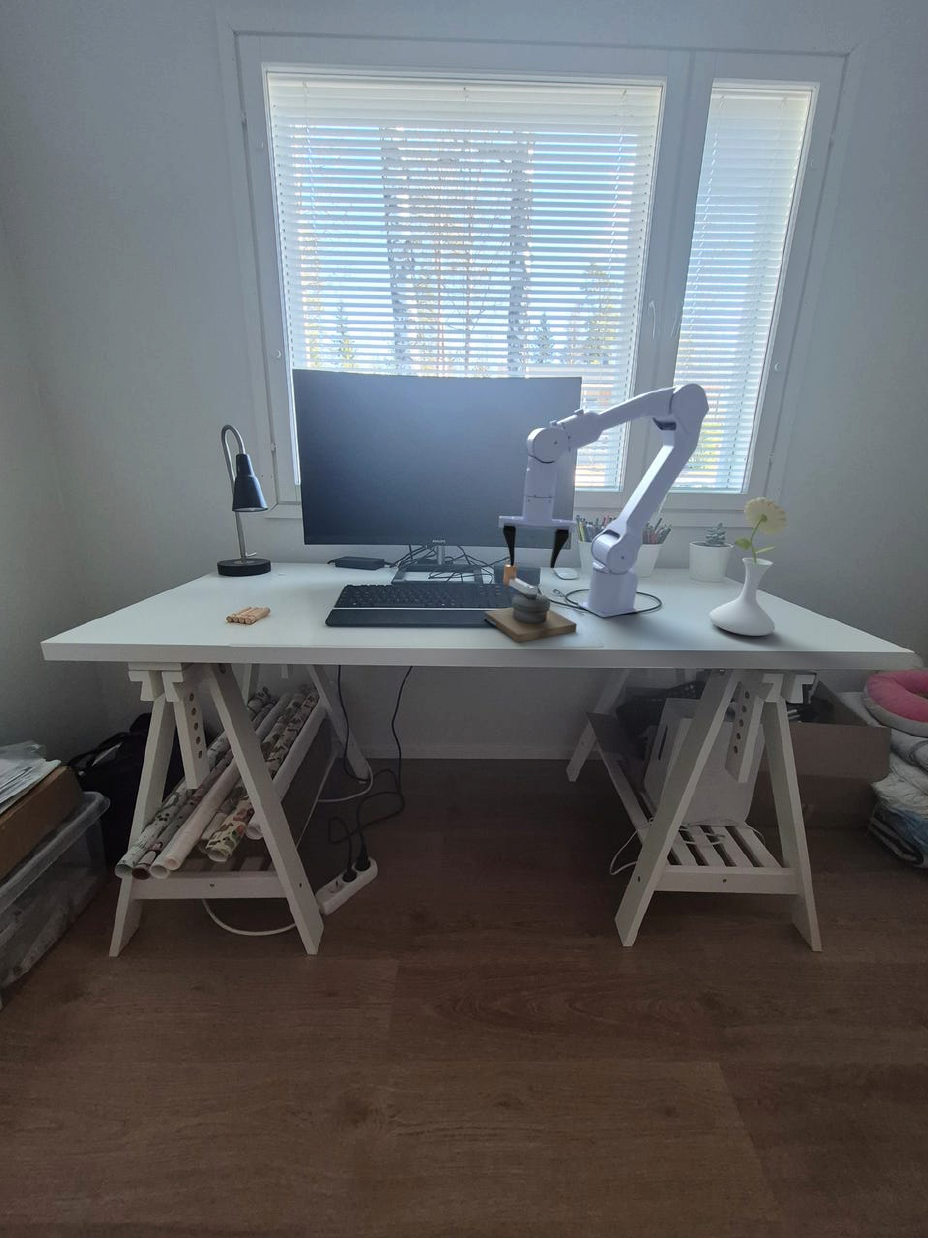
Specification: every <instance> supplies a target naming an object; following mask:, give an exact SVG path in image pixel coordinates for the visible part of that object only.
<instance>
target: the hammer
mask: <svg viewBox="0 0 928 1238" xmlns="http://www.w3.org/2000/svg"><path fill="white" fill-rule="evenodd" d="M503 567H504V569H503V581H502V582H503V584H504V585H508V586H510V587H512V588H514V589H516V590H517V591H519V592H520V593H524V594H526V598H528V599H536V598H537V593H538V589H539V587H538V586H537V585H531V584H530V583H527V582H525V581H523V580H521V579H519V578H517V577H516V576H517V568H518V566H517V565H516V564H514V565H510V563H508V564H507V563H505V564H504V566H503Z"/></svg>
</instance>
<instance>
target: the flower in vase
mask: <svg viewBox="0 0 928 1238" xmlns="http://www.w3.org/2000/svg"><path fill="white" fill-rule="evenodd" d="M744 508H745V509H744V510H743V514H744V515H745V516H746V517H745V519H746V521H748V524H749V526H751V527H753V530H752V533H751V535H750V538H749V540H747V539H746V538H745V537H743V536H741V537H739V538H738V539H737V540H735V541H734V542H733V545H735V546H737V547H740V548H741V549H743V550H745V551H747V550H748V549H749V548H750V550H751V553H752V557H743V558H742V562H743V563H744V568H745V580H744V585H743V587H742V588H743V589H742V591H741V593H740V595H739V596H738V597H737V598H736V599H733V600H732V601H729V602H726V603H724V604H722V605H720V606H718V607H716V608H714V609H713V610H712V611H711V612H710V613H709V614H708V618H709V620H710V622H711V623H712V624H714V625H715V626H717V627H719V628H721V629H723V630H725V631H728V632H730V633H734V634H739V635H742V636H743V635H744V636H753V637H754V636H756V637H757V636H766V635H770V634H771V633H773V632H774V631H775V629H776V626H775V622H774V620H773V619H772V618H771V617H770V615H769V614H768V613H767V612H766V611H765V610H764V609H763V608H762V607H761V606H760V605H759V603H758V601H757V599H756V598H757V590H758V588H759V584H760V582H761V579H762V578H763V576H764V574H765V573H766V571H767V570H768V569H769V568H771V567H772V566H773V565H774V562H772V561H771V560H767V559H763V558H757V557H756V554H760V553H761V554H762V553H764V552H769V551H770V550H772V549H774V548H775V547H777V544H776V545H775V546H772V547H764V548H762V549H760V550H758V551H755V550H754V546H753V538H754V535H755V533H756V531H758V530H759V533H761V534H765V535H766V536H771V535H777V534H781V533H783V532H784V530H785V528H786V527H785V526H786V525H787V524H788V522H787V521H788V518H787V517H786V516H785V514H786V510H785V509H782V505H780V504H776V503H775V500H774V499H769V500H768V499H767V498H766V497H765V496H762V497H759V496H758V497H756V499H754V498H753V499H750V501H747V502H746V505H745V507H744Z"/></svg>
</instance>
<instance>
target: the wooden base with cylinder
mask: <svg viewBox="0 0 928 1238" xmlns="http://www.w3.org/2000/svg"><path fill="white" fill-rule="evenodd" d="M483 612H484V615H485V616H486V617H487V618H488V619H491V620H492V621H493V622H495V623H496V625H497V629H498V630H499V631H501V633H504V634H505V635H506V636H508V637H509V638H510V639H512V640H513V641H515V642H516V643H522V642H527V641H532V640H537V639H538V640H539V639H542V638H548V637H554V636H558V635H564V634H568V633H574V632H576V631H577V625H578V624H577V623H576V622H575V621H572V620H570V619H569V618H567V617H565V616H563V615H561V614H559V613H557V612H556V611H554V610H552V609H551V601H550V600H549V597H547V596H546V595H545V594H542V593H538V592H537V598H536V599H528V598H526V594H524V593H523V592H519V593H516V594H514V597H513V598H511V607H507V608H505V607H504V608H500V609H493V610H486V611H483ZM484 615H483V616H484Z"/></svg>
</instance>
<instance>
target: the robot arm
mask: <svg viewBox="0 0 928 1238" xmlns="http://www.w3.org/2000/svg"><path fill="white" fill-rule="evenodd" d="M709 411H710V406H709V402H708V396H707V392H706V391H705V389H704V388H703V387H702V386H701V385H699V384H698V383H687V384H684V385H680V386H679V385H678V386H674V387H672V386H671V387H662V388H660V389H658V390H657V389H655V390H652V391H647V392H644V393H641V394H639V395H636V396H634V397H632V398H631V397H630V399H627V400H625V401H623V402H621V403H618V404H616V405H614V406H611V407H609V408H608V409H605V410H603V411H600V412H598V413H597V412H595V411H593V410H591V409H586V410H584V409H583V408H579V409H577V410H574V412H573V413H574V414H573V415H571V416H568V417H567V418H563V419H561V420H559V421H557V420H556V419H555V420H552V421H550V422H549V426H547V427H542V428H541V427H540V428H537V429H534V430H533V431H532V432H530V434H529V435H528V437H527V439H526V442H525V443H524V451H525V453H526V455H527V457H528V458H527V465H526V471H525V484H524V494H523V504H522V505H523V506H522V516H511V515H510V516H509V515H508V516H507V515H506V516H505V515H499V517H498V528H500V529H501V528H502V529H503V530H502V532H503V537H504V539H505V542H506V545H507V549H508V552H509V553H508V554H509V558H510V559H509V561H510V563H509V564H510V565H515V552H516V551H515V549H516V548H515V543H516V535H517V534H516V533H517V529H525V530H526V529H528V530H538V531H539V530H541V531H553V541H552V544H553V545H552V550H551V556H550V557H551V558H550V563H549V568H550V569H554V568H555V565H556V561H557V560H558V557H559V555H560V553H561V551H562V549H563V546H564V545H565V544H566V542H567V541H568V539H569V537H570V534H569V533H572V534H573V533H575V527H576V522H575V521H574V520H568V519H566V520H565V519H560V518H559V519H557V518H553V512H554V504H555V495H556V487H557V477H558V467H559V466H558V465H559V460H560V459H561V457H562V456H563V455H564V454H568V453H571V452H573V451H576V450H578V449H581V448H583V447H586V446H589V445H590V444H594V443H595V442H597V441H599V439H600V438H601V435H602V433H603V432H605V431H606V430H609V429H611V428H615V427H618V426H620V425H623V424H626V423H629V422H632V421H634V420H637V419H640V418H644V419H649V418H650V419H651V420H652V422H653V423H654V425H655V427H656V428H657V430H658V431H659V433H660V436H661V440H662V445H663V446H662V447H661V449H660V451H659V452H658V454H657V455H656V457H655V459H654V460H653V461H652V463H651V465H650V466H649V468H648V469H647V471H646V472H645V474H644V476H643V477H642V479H641V480H640V482H639V483H638V485H637V487H636V488H635V490H634V491H633V493H632V495H631V496H630V498H629V500H628V501H627V503H626V504H625V506H624V507H623V508H622V511H621V512H620V514H619V515H618V517H617V518H615V519H614V520H613V521H611V522H610V523H608V524H607V525H606V526H605V528H604V529H603V530H602V532H600V533H598V534H597V535H596V536H595V537H594V538H592V541H591V542H590V546H589V547H590V548H589V549H590V554H591V556H592V558H593V562H592V567H591V574H590V581H589V587H588V594H587V601H583V602H578V603H577V606H578V607H580V608H582V609H585V610H587V611H588V612H590V613H593V614H595V615H597V616H599V617H601V618H607V617H613V616H619V615H624V614H628V613H629V614H630V613H635V612H637V609H636V608H634V605H635V601H636V596H637V590H638V584H639V578H638V574H637V572H636V571H635V570H634V569H633V567H634V566H635V565H636V563H637V560H638V557H639V556H638V555H639V550H640V548H641V547H642V546H643V543H644V540H643V539H644V538H643V531H644V529H645V527H646V525H647V524H648V523H649V521H650V519H651V518H652V517H653V516H654V514H655V512H656V511H657V509H658V507H659V505H660V504H661V503H662V501H663V500H664V498H665V496H666V495H667V494H668V493H669V490H671V488H672V486H673V484H674V483H675V482H676V480H677V478H678V477H679V475H680V474H681V472H682V471H683V469H684V468H685V466H686V465H687V463H688V462H689V460H690V458H691V457H692V456H693V455H694V452H695V451H696V449H697V447H698V443H699V440H700V435H701V429H702V425H703V420H704V419H705V417H706V415H707V414H708V412H709Z"/></svg>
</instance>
